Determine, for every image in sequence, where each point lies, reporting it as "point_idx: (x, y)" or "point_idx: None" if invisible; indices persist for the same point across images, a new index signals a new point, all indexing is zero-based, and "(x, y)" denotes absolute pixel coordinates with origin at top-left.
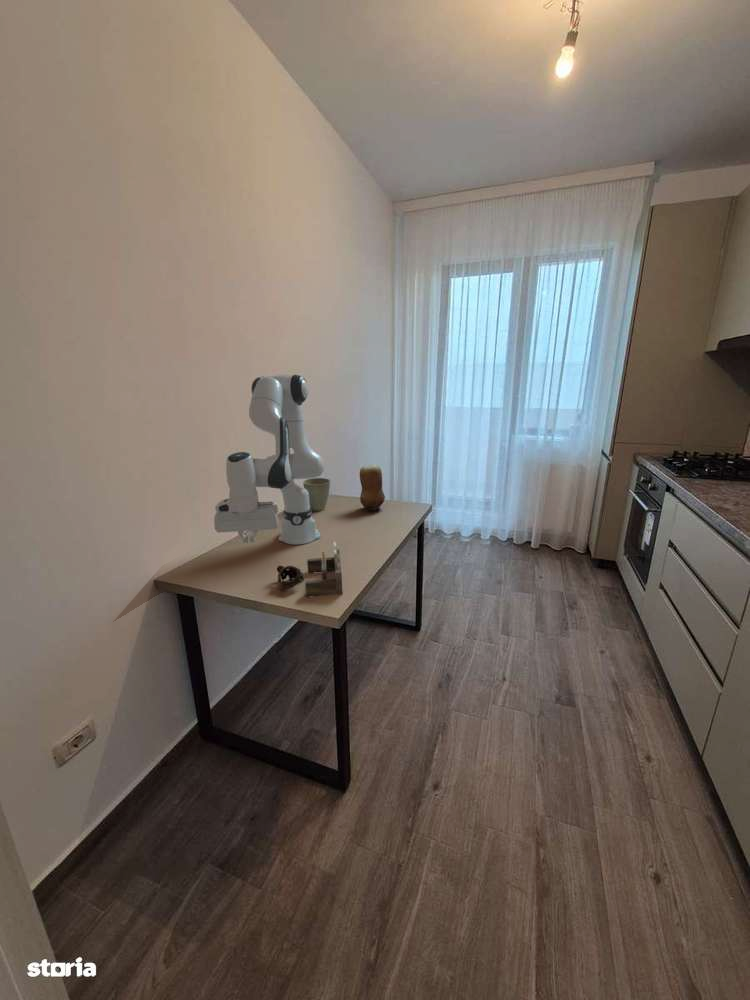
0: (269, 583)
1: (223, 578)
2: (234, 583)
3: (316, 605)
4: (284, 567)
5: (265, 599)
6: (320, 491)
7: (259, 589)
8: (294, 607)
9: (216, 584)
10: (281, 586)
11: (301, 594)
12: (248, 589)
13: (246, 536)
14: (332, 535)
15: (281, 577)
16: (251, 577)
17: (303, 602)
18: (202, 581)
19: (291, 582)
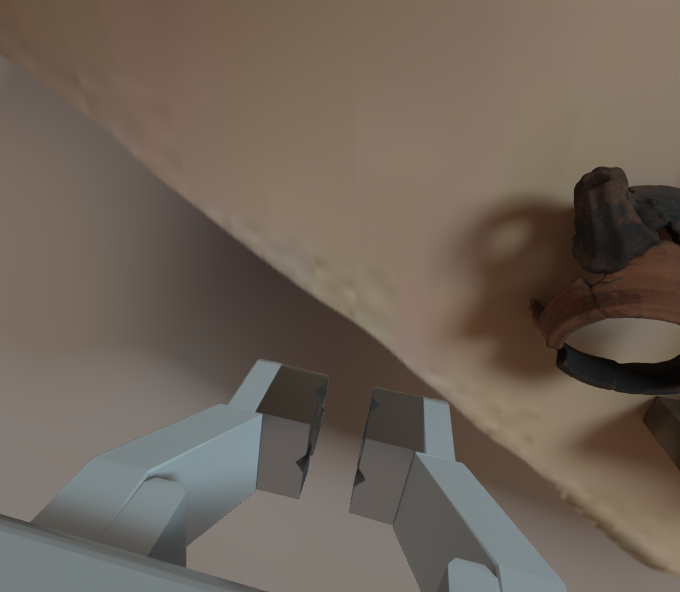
0: (484, 201)
1: (192, 17)
2: (272, 125)
3: (657, 495)
4: (640, 310)
5: (437, 364)
6: None
7: (417, 255)
8: (553, 471)
9: (169, 101)
10: (544, 337)
11: None
12: (356, 233)
13: (285, 421)
14: None
15: (577, 230)
16: (376, 65)
17: (608, 453)
18: (73, 23)
19: (615, 390)
